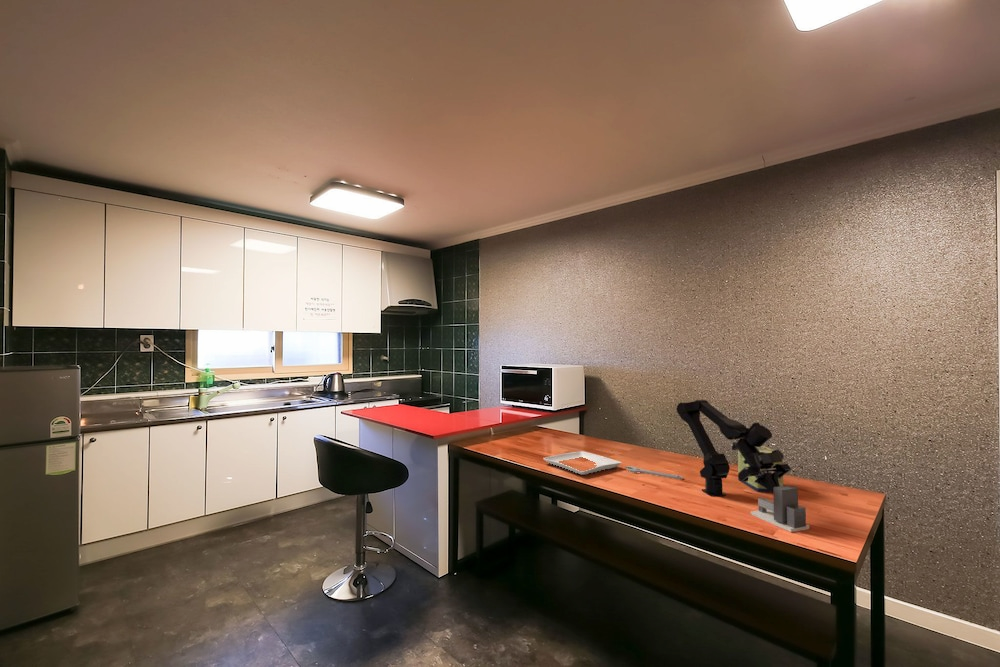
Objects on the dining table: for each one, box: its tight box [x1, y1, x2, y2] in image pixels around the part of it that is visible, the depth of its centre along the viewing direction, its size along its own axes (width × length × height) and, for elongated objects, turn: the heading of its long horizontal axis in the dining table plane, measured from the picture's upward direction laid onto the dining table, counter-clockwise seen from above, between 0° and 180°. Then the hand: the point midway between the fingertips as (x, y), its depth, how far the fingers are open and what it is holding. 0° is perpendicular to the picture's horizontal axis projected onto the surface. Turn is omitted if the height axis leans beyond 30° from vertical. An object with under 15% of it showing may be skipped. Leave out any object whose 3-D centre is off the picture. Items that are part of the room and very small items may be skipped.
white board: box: [750, 509, 810, 533], centre depth 140 cm, size 14×8×1 cm, turn 17°
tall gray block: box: [772, 484, 799, 523], centre depth 137 cm, size 3×7×11 cm, turn 107°
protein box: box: [737, 445, 784, 493], centre depth 176 cm, size 10×16×16 cm
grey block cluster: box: [757, 497, 807, 528], centre depth 140 cm, size 14×5×6 cm, turn 17°
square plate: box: [542, 450, 623, 475], centre depth 202 cm, size 27×27×4 cm
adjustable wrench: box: [625, 465, 684, 480], centre depth 190 cm, size 25×6×2 cm, turn 52°
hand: (780, 495), depth 139 cm, fingers closed, pressing on tall gray block
